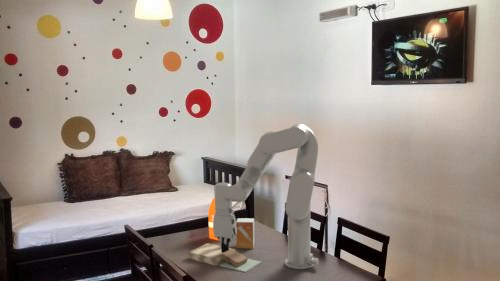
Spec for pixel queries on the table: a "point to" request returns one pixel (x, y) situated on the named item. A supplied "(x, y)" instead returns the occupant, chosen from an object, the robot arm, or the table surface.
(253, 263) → the mat
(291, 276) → the table surface
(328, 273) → the table surface
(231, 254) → the tile
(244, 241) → the small box
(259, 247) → the table surface
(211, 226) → the orange juice
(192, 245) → the table surface
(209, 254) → the deck
